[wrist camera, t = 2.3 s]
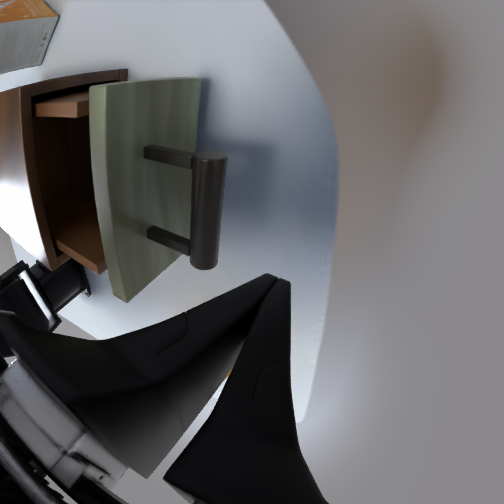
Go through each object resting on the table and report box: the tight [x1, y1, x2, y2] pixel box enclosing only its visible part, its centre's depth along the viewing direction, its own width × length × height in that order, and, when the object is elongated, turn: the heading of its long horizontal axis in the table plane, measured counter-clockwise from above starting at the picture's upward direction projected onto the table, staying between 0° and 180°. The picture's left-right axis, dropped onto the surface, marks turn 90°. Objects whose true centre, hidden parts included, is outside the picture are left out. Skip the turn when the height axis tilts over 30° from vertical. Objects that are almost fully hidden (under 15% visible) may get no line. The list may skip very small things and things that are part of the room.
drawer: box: [31, 77, 227, 303], centre depth 16 cm, size 18×11×7 cm, turn 82°
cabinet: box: [0, 69, 128, 271], centre depth 18 cm, size 15×13×9 cm
